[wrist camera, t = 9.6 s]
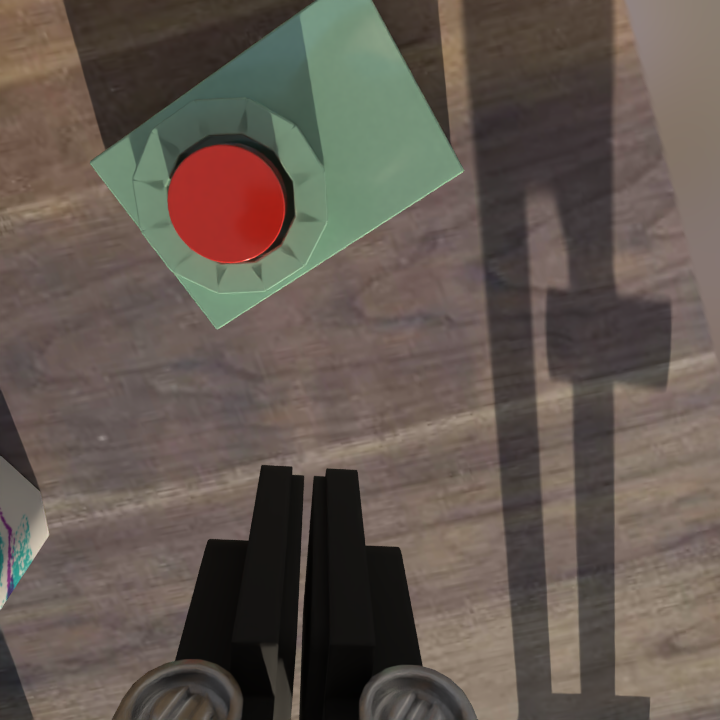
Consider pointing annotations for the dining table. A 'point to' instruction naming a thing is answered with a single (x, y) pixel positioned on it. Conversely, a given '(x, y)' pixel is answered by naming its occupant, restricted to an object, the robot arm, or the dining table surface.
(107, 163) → the button box
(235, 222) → the button
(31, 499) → the mug
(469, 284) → the dining table surface
